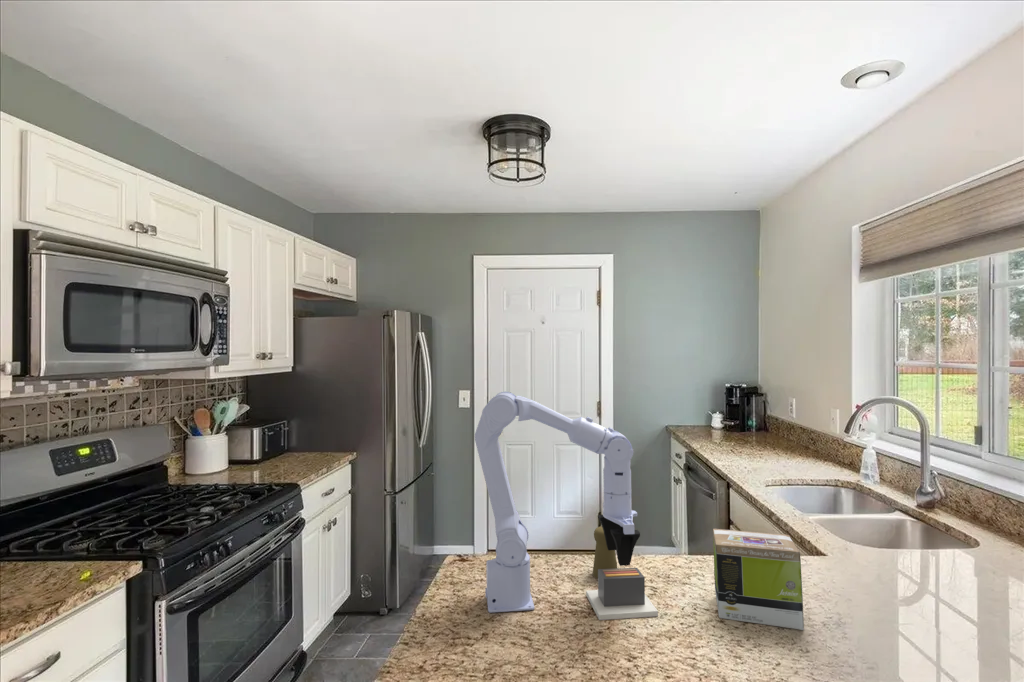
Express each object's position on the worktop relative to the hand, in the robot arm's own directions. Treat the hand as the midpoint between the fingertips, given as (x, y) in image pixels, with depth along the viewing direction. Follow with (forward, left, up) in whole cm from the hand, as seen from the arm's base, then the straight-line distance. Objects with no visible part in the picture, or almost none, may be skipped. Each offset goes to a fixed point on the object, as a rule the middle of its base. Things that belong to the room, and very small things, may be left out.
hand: (618, 557), depth 102 cm
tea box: (+26, -6, -10) cm, 29 cm away
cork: (+1, +14, -10) cm, 17 cm away
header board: (0, 0, -10) cm, 10 cm away
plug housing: (0, 0, -9) cm, 9 cm away
